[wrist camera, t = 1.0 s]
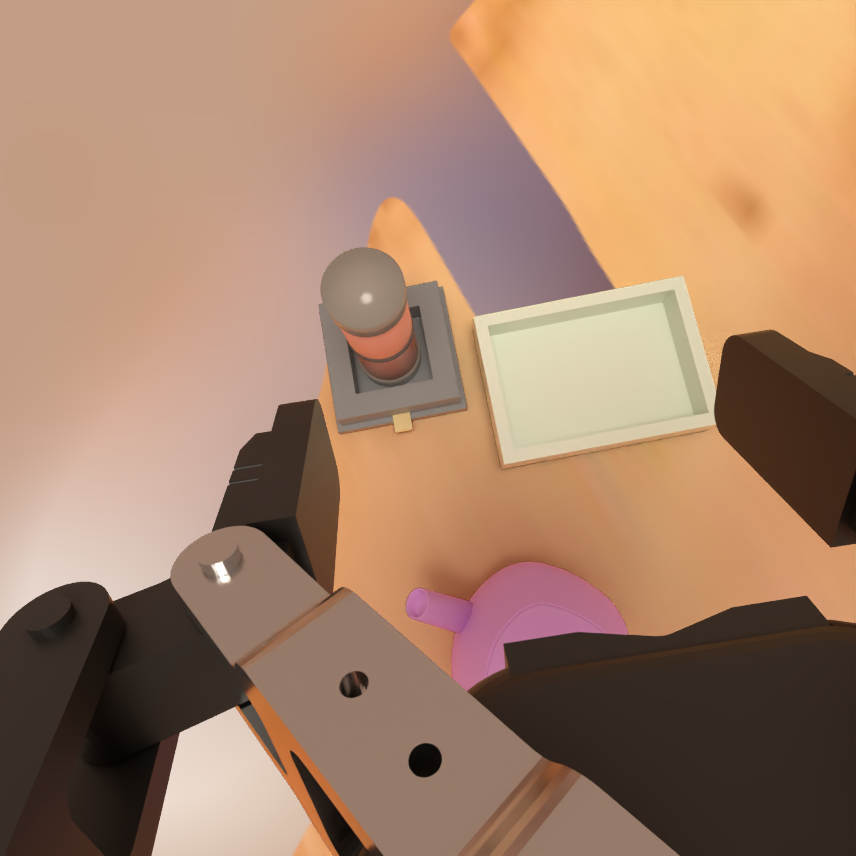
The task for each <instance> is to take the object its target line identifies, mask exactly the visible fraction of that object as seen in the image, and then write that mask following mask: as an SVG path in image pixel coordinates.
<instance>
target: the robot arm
mask: <svg viewBox="0 0 856 856" xmlns="http://www.w3.org/2000/svg"><path fill="white" fill-rule="evenodd" d="M714 417H715V422H716V425H717V428H718V430H719V432H720V434H721V435H722V437H723V438H724V439H725V440H726V441H727V442H728V443H729V444H730V445H731V446H732V447H733V448H734V449H735V450H736V451H737V452H738V453H739V454H740V455H741V456H742V457H743V458H744V459H745V460H746V461H747V462H748V463H749V464H750V465H751V466H752V467H753V468H754V470H755V471H756V472H757V473H758V474H759V475H760V476H761V477H762V478H763V479H764V480H765V481H766V482H767V483H768V484H769V485H770V486H771V487H772V488H773V489H774V490H775V491H776V492H777V493H778V494H779V495H780V496H781V497H782V498H783V499H784V500H785V501H786V502H787V503H788V504H789V505H790V506H791V507H792V508H793V509H794V510H795V511H796V513H797V514H798V515H799V516H800V517H801V518H802V519H803V520H804V521H805V522H806V523H807V524H808V525H809V526H810V527H811V528H812V529H813V530H814V531H815V532H816V533H817V534H818V535H819V536H820V537H821V538H822V539H823V540H824V541H825V542H826V543H827V544H828V545H829V546H830V547H837V546H843V545H850V544H856V375H855V376H854V375H853V372H852V371H850V370H849V369H847V368H845V367H844V366H842V365H840V364H839V363H837V362H836V361H834V360H832V359H829V358H826V357H823V356H820V355H817V354H814V353H811V352H809V351H807V350H805V349H804V348H802V347H801V346H799V345H798V344H796V343H794V342H793V341H791V340H790V339H788V338H786V337H785V336H783V335H782V334H780V333H778V332H777V331H775V330H765V331H759V332H752V333H746V334H739V335H733V336H730V337H729V338H728V339H727V340H726V342H725V344H724V347H723V351H722V357H721V364H720V371H719V377H718V384H717V390H716V397H715V403H714ZM229 484H230V485H228V486H227V489H226V492H225V495H224V498H223V501H222V504H221V507H220V509H219V512H218V515H217V518H216V521H215V524H214V527H213V530H212V532H211V533H208V534H206V535H204V536H202V537H201V538H199V539H198V540H196V541H194V542H193V543H192V544H190V545H189V546H188V547H187V548H186V549H185V550H184V551H183V552H182V553H181V554H180V555H179V556H178V558H177V559H176V561H175V562H174V565H173V567H172V570H171V576H170V577H171V578H169V579H167V580H166V581H163V582H161V583H159V584H157V585H154V586H151V587H149V588H146V589H144V590H141V591H138V592H136V593H134V594H131V595H128V596H126V597H123V598H121V599H118V600H115V601H112V599H111V597H110V596H109V594H108V592H107V591H106V589H105V588H104V587H103V586H101V585H99V584H97V583H92V582H77V583H71V584H67V585H63V586H60V587H58V588H55V589H53V590H50V591H48V592H46V593H44V594H42V595H40V596H39V597H37V598H35V599H34V600H32V601H31V602H29V603H28V604H26V605H25V606H24V607H22V608H21V609H20V610H19V611H18V612H16V613H15V614H14V615H13V616H12V617H11V618H10V619H9V620H8V622H7V623H6V624H5V625H4V626H3V628H2V629H1V631H0V856H151V855H152V850H153V846H154V842H155V837H156V833H157V829H158V824H159V820H160V816H161V811H162V807H163V802H164V798H165V794H166V789H167V785H168V781H169V776H170V772H171V768H172V763H173V759H174V755H175V750H176V746H177V742H178V737H179V733H180V732H182V731H184V730H186V729H188V728H190V727H192V726H195V725H197V724H199V723H201V722H203V721H205V720H207V719H210V718H212V717H214V716H216V715H218V714H220V713H223V712H225V711H227V710H229V709H231V708H233V707H236V709H237V710H238V712H239V713H240V715H241V716H242V717H243V719H244V720H245V722H246V723H247V725H248V726H249V728H250V729H251V731H252V732H253V733H254V735H255V736H256V738H257V739H258V741H259V742H260V743H261V745H262V747H263V748H264V750H265V751H266V752H267V754H268V755H269V757H270V758H271V759H272V761H273V763H274V764H275V766H276V767H277V768H278V770H279V771H280V773H281V774H282V776H283V777H284V779H285V780H286V782H287V783H288V784H289V786H290V787H291V789H292V790H293V792H294V794H295V795H296V797H297V798H298V800H299V801H300V803H301V805H302V807H303V808H304V810H305V812H306V813H307V815H308V817H309V818H310V820H311V822H312V824H313V825H314V827H315V829H316V830H317V832H318V833H319V835H320V837H321V838H322V840H323V841H324V843H325V844H326V846H327V847H328V849H329V850H330V852H331V853H332V855H333V856H856V623H849V622H842V621H836V620H826V618H825V617H824V616H823V615H822V614H821V612H820V611H819V610H818V609H817V608H816V606H815V605H814V604H813V603H812V602H811V601H810V599H809V598H808V597H807V596H802V597H796V598H789V599H783V600H777V601H770V602H764V603H758V604H751V605H745V606H739V607H732V608H730V609H728V610H725V611H723V612H721V613H718V614H716V615H714V616H711V617H709V618H707V619H705V620H702V621H700V622H698V623H695V624H693V625H691V626H688V627H686V628H684V629H681V630H679V631H677V632H674V633H672V634H669V635H666V636H639V635H623V634H606V633H589V632H574V633H567V634H561V635H555V636H548V637H542V638H536V639H529V640H523V641H517V642H510V643H504V644H503V647H504V658H505V669H502V670H500V671H498V672H496V673H493V674H492V675H490V676H488V677H486V678H485V679H483V680H481V681H480V682H478V683H477V684H475V685H474V686H473V687H471V688H470V689H469V690H467V691H466V690H465V689H464V688H462V687H461V686H460V685H459V684H458V683H457V682H456V681H455V680H453V679H452V678H451V677H450V676H449V675H448V674H447V673H445V672H444V671H443V670H442V669H441V668H440V667H439V666H437V665H436V664H435V663H434V662H433V661H432V660H431V659H429V658H428V657H427V656H426V655H425V654H424V653H423V652H422V651H420V650H419V649H418V648H417V647H416V646H415V645H414V644H412V643H411V642H410V641H409V640H408V639H407V638H406V637H404V636H403V635H402V634H401V633H400V632H399V631H398V630H396V629H395V628H394V627H393V626H392V625H391V624H390V623H389V622H387V621H386V620H385V619H384V618H383V617H382V616H381V615H379V614H378V613H377V612H376V611H375V610H374V609H373V608H371V607H370V606H369V605H368V604H367V603H366V602H365V601H363V600H362V599H361V598H360V597H359V596H358V595H357V594H355V593H354V592H353V591H351V590H350V589H348V588H345V587H341V588H339V589H338V590H337V591H335V592H334V593H333V585H334V571H335V557H336V543H337V529H338V515H339V501H340V485H339V476H338V470H337V465H336V461H335V457H334V454H333V450H332V446H331V442H330V438H329V434H328V430H327V427H326V423H325V419H324V415H323V411H322V408H321V405H320V403H319V401H318V399H314V400H307V401H301V402H294V403H288V404H281V405H279V406H278V410H277V413H276V416H275V420H274V424H273V427H272V431H270V432H263V433H257V434H255V435H254V436H253V437H252V438H251V439H250V440H249V441H248V442H247V443H246V445H244V447H243V448H242V449H241V450H240V452H239V455H238V457H237V460H236V463H235V466H234V471H233V472H232V475H231V478H230V480H229Z"/></svg>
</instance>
